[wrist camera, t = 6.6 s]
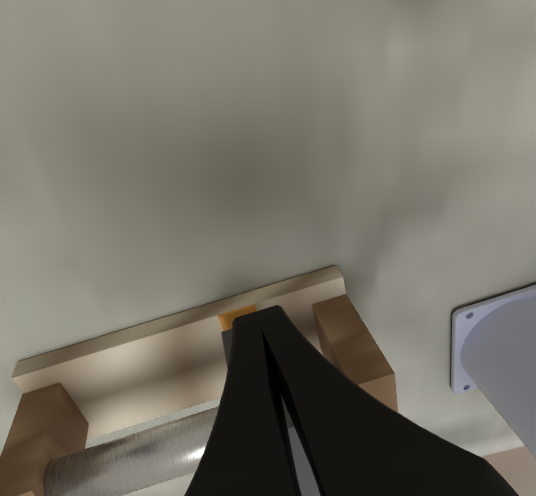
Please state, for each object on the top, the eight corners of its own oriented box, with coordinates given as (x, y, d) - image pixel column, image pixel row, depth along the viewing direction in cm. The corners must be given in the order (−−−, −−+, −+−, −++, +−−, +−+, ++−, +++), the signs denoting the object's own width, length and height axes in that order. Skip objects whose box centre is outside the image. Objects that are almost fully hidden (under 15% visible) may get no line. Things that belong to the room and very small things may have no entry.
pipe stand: (335, 265, 25) (393, 355, 18) (347, 341, 28) (401, 440, 22) (17, 361, 23) (-35, 493, 17) (68, 429, 26) (39, 561, 20)
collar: (267, 317, 22) (302, 424, 16) (290, 400, 25) (326, 510, 20) (220, 331, 22) (240, 444, 16) (250, 412, 25) (275, 528, 20)
